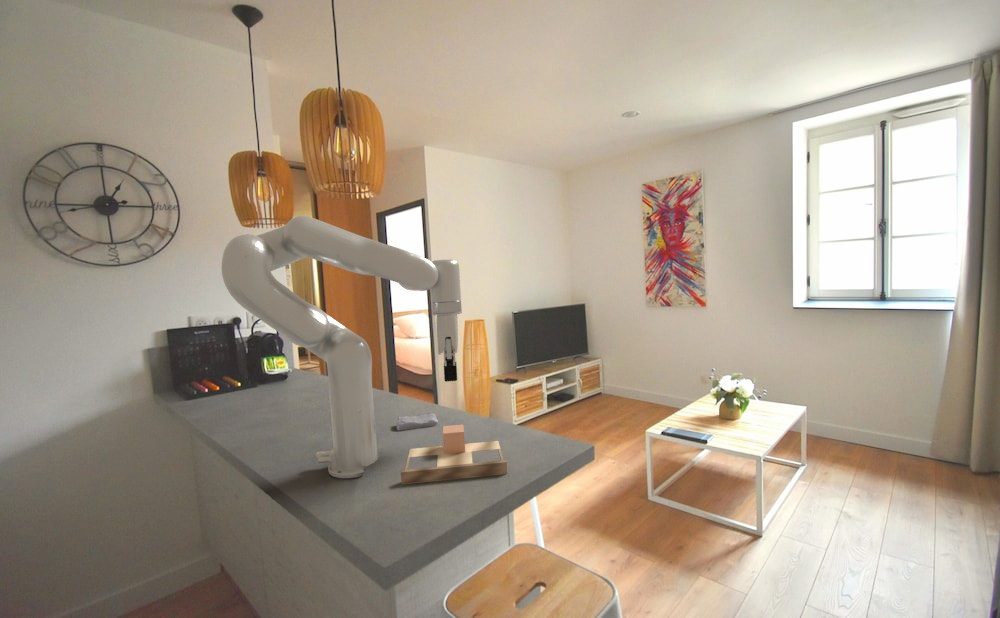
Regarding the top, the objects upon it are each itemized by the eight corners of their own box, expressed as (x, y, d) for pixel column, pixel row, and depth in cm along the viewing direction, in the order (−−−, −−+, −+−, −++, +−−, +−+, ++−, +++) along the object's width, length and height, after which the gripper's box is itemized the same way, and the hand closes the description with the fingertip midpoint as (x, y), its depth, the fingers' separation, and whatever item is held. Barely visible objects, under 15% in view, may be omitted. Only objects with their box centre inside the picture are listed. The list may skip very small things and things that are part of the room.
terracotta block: (444, 454, 103) (442, 433, 102) (444, 445, 108) (443, 426, 107) (465, 452, 103) (464, 431, 103) (464, 443, 108) (463, 424, 108)
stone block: (396, 432, 128) (397, 437, 119) (395, 415, 129) (396, 419, 119) (436, 427, 132) (440, 432, 122) (435, 411, 132) (439, 415, 123)
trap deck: (402, 490, 89) (400, 472, 89) (410, 454, 107) (409, 439, 107) (507, 480, 91) (506, 462, 91) (498, 446, 109) (497, 431, 109)
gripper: (433, 306, 118) (437, 372, 119) (430, 312, 101) (435, 388, 103) (460, 305, 118) (464, 370, 120) (462, 310, 102) (466, 386, 104)
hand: (450, 378), depth 112 cm, fingers open, 3 cm apart
